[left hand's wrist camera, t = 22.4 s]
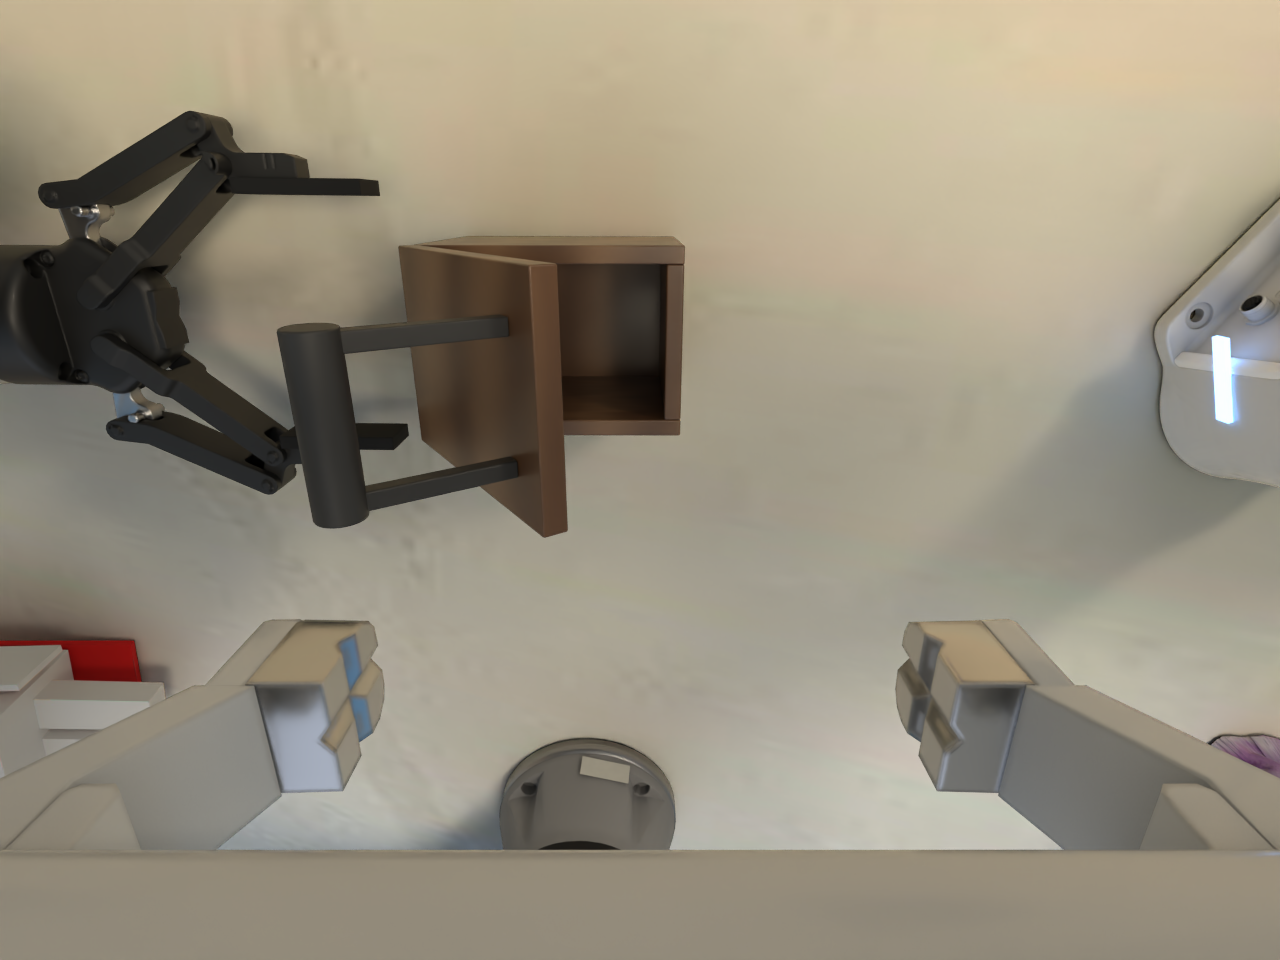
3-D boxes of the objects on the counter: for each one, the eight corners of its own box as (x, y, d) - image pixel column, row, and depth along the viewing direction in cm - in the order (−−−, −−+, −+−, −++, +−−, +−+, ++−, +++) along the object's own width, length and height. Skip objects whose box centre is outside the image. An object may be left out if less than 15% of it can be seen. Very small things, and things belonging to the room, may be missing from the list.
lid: (557, 263, 22) (277, 276, 18) (568, 531, 26) (337, 597, 21) (419, 245, 33) (222, 250, 28) (441, 436, 36) (269, 467, 32)
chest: (674, 236, 43) (684, 245, 33) (671, 385, 47) (680, 435, 37) (466, 236, 43) (412, 244, 33) (479, 385, 47) (434, 435, 37)
